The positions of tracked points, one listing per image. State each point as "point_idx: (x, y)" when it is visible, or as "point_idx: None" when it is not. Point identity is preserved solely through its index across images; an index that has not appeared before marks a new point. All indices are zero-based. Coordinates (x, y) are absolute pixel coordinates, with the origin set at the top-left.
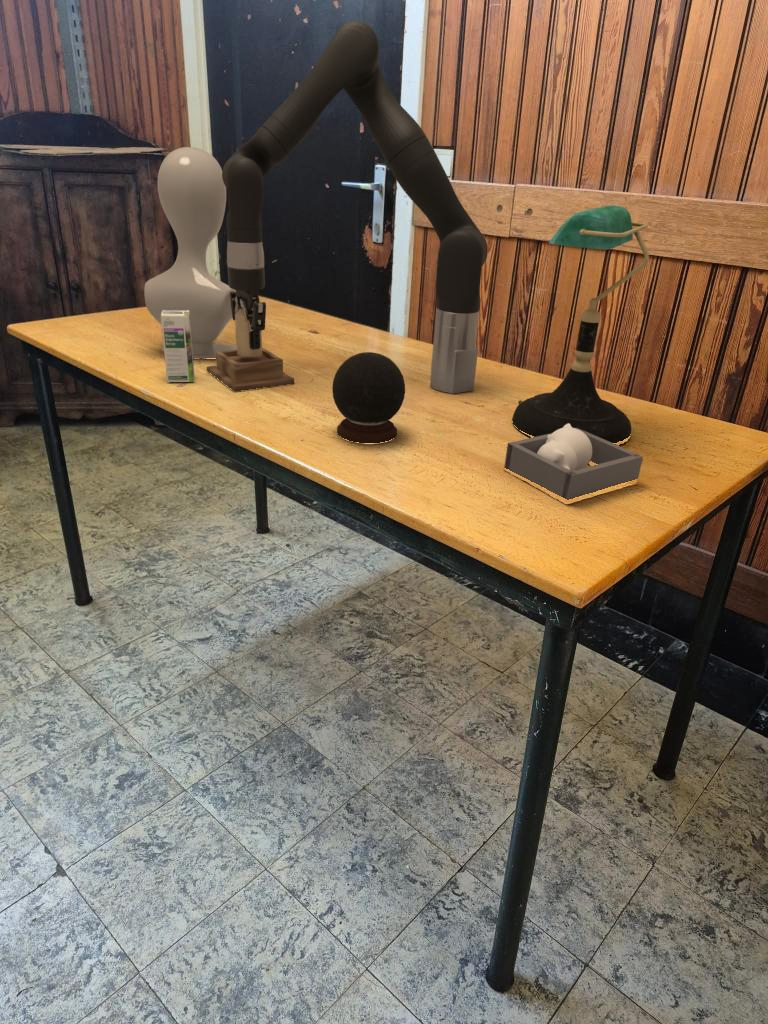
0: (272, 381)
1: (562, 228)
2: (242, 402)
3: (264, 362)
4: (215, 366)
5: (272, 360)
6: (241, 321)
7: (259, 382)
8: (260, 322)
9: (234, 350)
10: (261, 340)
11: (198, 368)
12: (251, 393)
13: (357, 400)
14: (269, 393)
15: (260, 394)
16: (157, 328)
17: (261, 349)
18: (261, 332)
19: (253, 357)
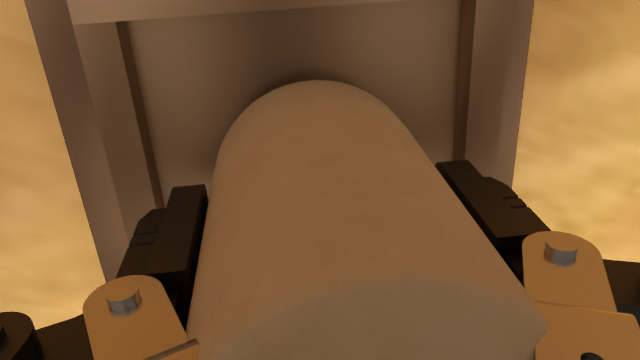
0: (524, 56)
1: None
2: (627, 251)
3: (497, 114)
4: (118, 269)
5: (501, 47)
6: None
7: (504, 134)
8: (491, 249)
9: (133, 228)
10: (405, 137)
11: (42, 313)
12: (543, 185)
13: None
14: (592, 104)
15: (580, 150)
16: None
17: (391, 113)
18: (415, 163)
19: (244, 108)
